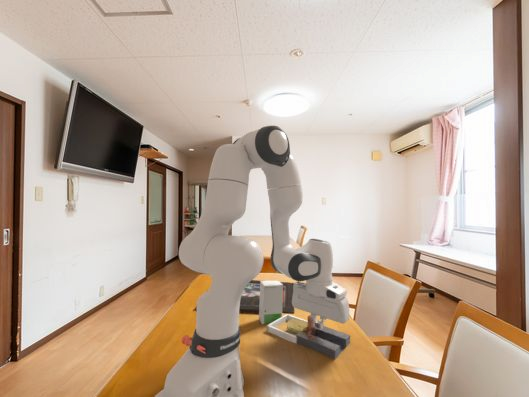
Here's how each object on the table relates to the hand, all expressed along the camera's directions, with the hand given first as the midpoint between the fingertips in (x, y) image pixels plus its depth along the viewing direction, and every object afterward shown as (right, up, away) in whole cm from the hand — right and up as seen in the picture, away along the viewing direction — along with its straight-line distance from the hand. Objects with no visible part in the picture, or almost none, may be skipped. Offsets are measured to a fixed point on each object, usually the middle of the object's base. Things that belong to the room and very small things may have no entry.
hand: (318, 327), depth 86 cm
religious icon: (-26, -7, +43) cm, 50 cm away
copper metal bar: (-2, -4, +2) cm, 5 cm away
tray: (-9, -6, +7) cm, 13 cm away
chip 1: (-7, -5, +6) cm, 11 cm away
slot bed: (+1, -6, -1) cm, 6 cm away
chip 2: (-4, -5, +4) cm, 7 cm away
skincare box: (-16, -6, +16) cm, 23 cm away
